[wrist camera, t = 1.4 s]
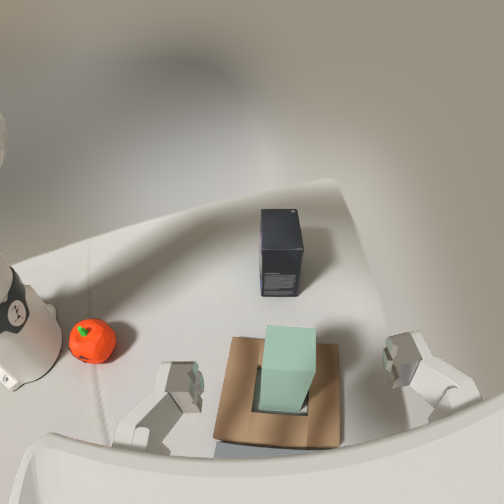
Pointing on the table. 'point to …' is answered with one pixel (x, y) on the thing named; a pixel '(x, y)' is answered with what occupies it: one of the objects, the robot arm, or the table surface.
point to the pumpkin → (92, 341)
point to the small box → (280, 252)
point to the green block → (287, 367)
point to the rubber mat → (251, 451)
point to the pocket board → (274, 425)
